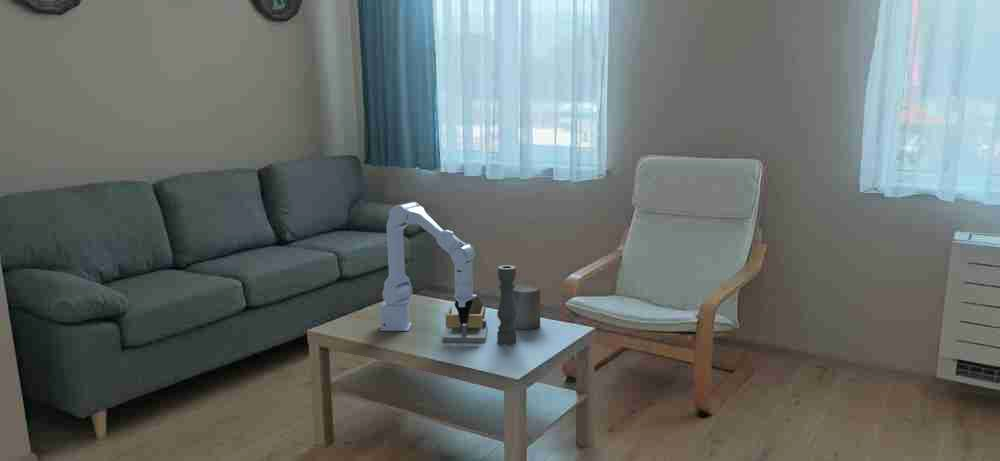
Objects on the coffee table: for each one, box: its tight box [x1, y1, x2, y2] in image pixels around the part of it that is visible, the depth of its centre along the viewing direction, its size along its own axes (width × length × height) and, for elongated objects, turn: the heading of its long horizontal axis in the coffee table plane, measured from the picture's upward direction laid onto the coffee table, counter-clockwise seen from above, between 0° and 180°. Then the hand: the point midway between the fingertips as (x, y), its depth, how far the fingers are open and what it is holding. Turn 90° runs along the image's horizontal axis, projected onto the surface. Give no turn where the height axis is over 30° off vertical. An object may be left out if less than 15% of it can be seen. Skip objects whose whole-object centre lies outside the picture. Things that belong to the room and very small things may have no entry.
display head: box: [442, 319, 489, 343], centre depth 253 cm, size 13×14×6 cm
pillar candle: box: [513, 283, 541, 331], centre depth 262 cm, size 10×10×15 cm
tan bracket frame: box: [445, 305, 486, 328], centre depth 253 cm, size 11×12×4 cm
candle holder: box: [496, 264, 517, 346], centre depth 245 cm, size 6×6×25 cm
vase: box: [469, 294, 486, 314], centre depth 270 cm, size 7×7×9 cm
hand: (464, 322), depth 248 cm, fingers closed on tan bracket frame, 2 cm apart
